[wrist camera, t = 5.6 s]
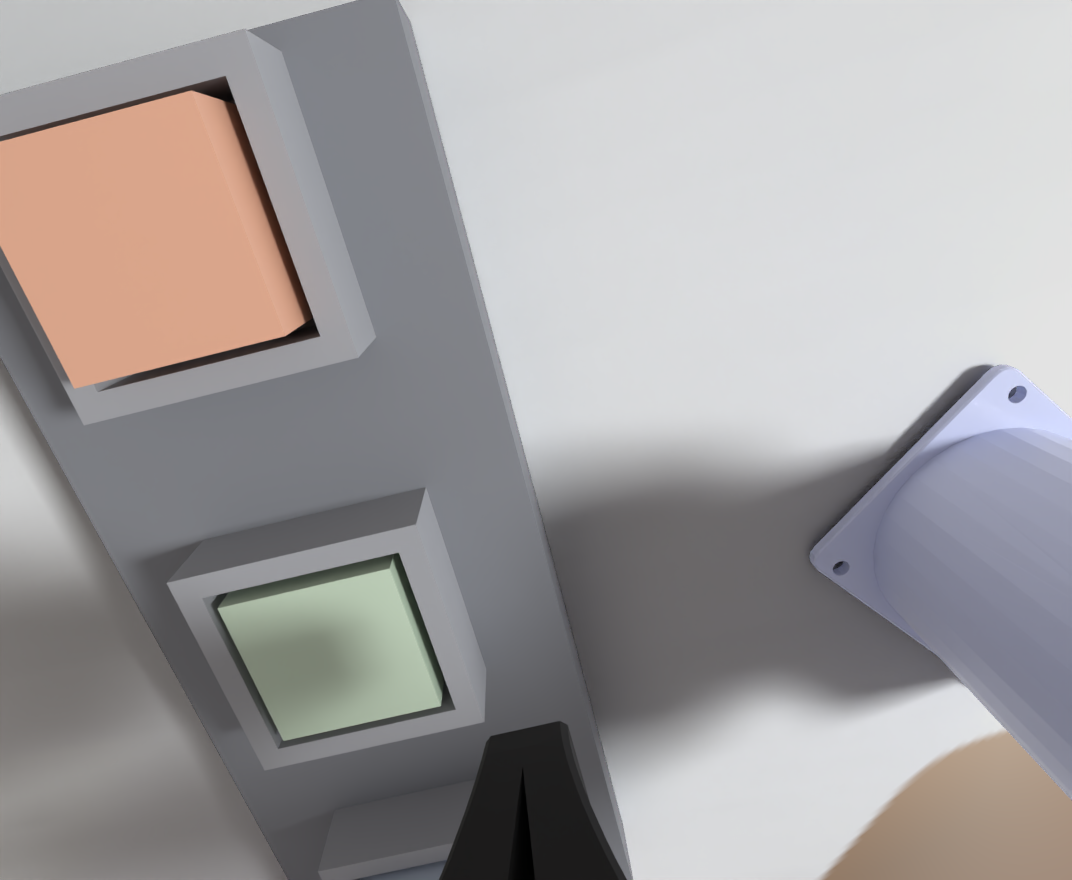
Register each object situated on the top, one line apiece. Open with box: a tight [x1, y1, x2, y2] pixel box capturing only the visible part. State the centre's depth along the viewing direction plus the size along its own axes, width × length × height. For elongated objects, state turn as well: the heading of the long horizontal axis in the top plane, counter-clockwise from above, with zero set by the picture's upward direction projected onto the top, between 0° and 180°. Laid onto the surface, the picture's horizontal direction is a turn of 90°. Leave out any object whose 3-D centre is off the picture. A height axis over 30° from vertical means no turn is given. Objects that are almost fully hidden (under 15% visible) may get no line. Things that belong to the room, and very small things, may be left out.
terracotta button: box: [0, 90, 313, 389], centre depth 13 cm, size 4×4×2 cm
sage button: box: [217, 553, 444, 741], centre depth 17 cm, size 4×4×2 cm
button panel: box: [0, 0, 633, 880], centre depth 18 cm, size 27×11×4 cm, turn 13°
